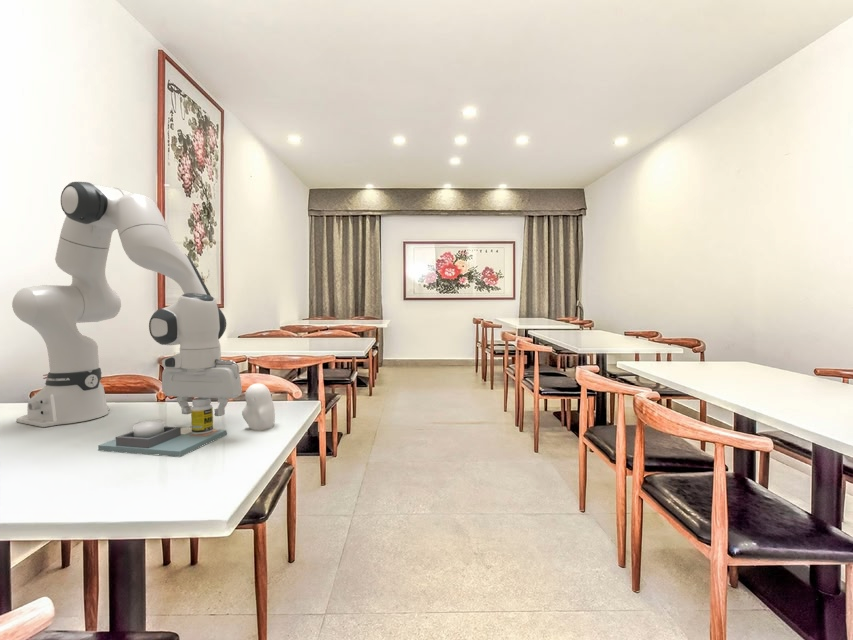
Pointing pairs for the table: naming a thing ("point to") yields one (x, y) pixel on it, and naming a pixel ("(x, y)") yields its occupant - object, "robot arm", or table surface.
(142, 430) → the dome
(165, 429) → the board
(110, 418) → the table surface
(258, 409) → the figurine
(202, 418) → the supplement bottle
